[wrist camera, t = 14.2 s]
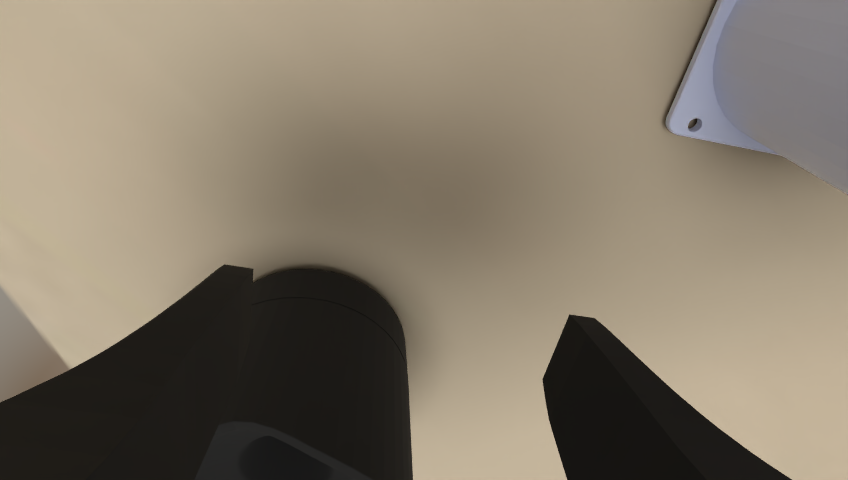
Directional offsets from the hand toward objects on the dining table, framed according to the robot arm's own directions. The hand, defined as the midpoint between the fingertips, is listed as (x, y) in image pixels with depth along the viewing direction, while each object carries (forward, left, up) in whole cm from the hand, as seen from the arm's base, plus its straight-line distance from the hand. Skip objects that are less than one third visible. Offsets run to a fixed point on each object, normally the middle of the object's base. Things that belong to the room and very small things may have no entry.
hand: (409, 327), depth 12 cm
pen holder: (+3, +10, -11) cm, 15 cm away
